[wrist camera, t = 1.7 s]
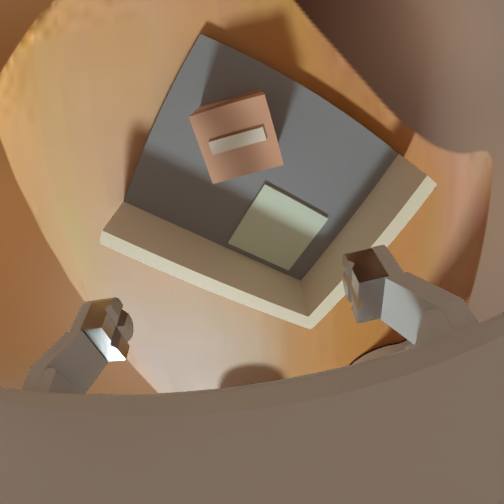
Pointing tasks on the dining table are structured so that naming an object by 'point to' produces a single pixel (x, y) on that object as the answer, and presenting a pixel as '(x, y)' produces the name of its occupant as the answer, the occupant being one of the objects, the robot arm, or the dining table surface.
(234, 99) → the block
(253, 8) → the dining table surface
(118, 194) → the dining table surface
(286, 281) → the arena
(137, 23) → the dining table surface
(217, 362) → the dining table surface
